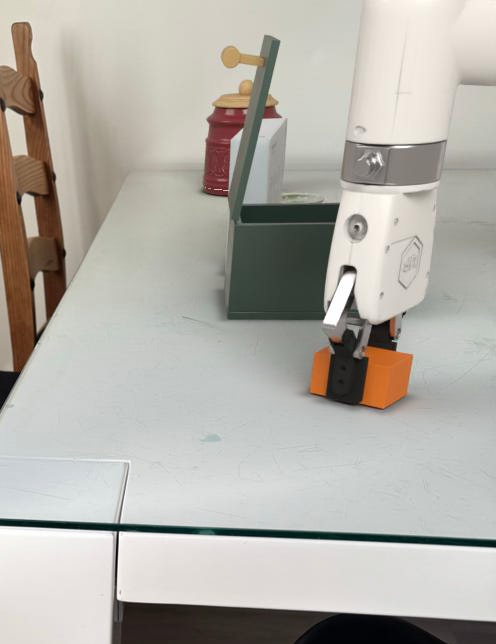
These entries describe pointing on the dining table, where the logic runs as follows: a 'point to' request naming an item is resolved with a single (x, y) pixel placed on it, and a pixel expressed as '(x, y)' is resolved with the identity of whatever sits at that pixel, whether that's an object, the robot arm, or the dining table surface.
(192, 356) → the dining table surface
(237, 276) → the bin
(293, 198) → the saucer
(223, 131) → the kitchen canister
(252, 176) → the skincare box
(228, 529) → the dining table surface
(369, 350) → the orange block
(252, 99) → the bin lid
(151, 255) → the dining table surface
